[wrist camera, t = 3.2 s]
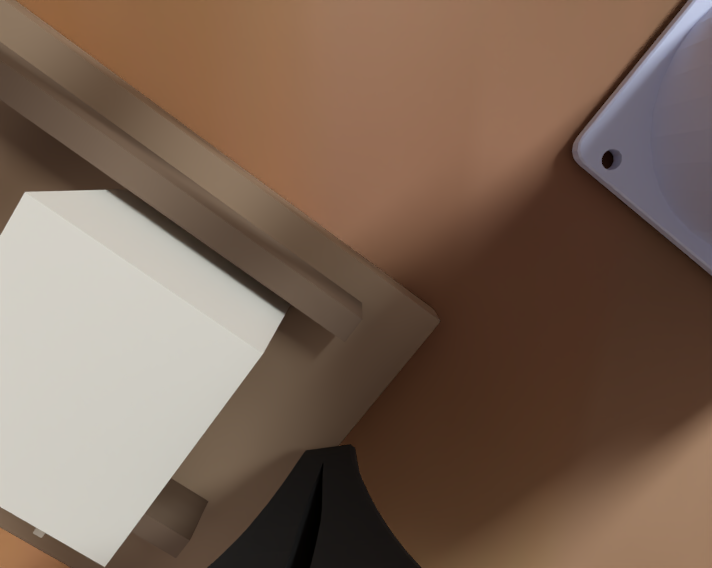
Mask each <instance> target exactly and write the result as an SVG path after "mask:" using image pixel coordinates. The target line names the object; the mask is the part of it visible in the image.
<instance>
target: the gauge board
mask: <svg viewBox="0 0 712 568" xmlns="http://www.w3.org/2000/svg"><path fill="white" fill-rule="evenodd" d="M118 189H127V190H128V191H130V192H131V193H133V194H134V195H135V196H137V197H138V198H140V199H141V200H143V201H144V202H145V203H147V204H148V205H150V206H151V207H153V208H154V209H155V210H157V211H158V212H160V213H161V214H162V215H164V216H165V217H167V218H168V219H170V220H171V221H172V222H174V223H175V224H177V225H178V226H180V227H181V228H182V229H184V230H185V231H187V232H188V233H189V234H191V235H192V236H194V237H195V238H197V239H198V240H199V241H201V242H202V243H204V244H205V245H207V246H208V247H209V248H211V249H212V250H214V251H215V252H216V253H218V254H219V255H221V256H222V257H224V258H225V259H226V260H228V261H229V262H231V263H232V264H234V265H235V266H236V267H238V268H239V269H241V270H242V271H243V272H245V273H246V274H248V275H249V276H251V277H252V278H253V279H255V280H256V281H258V282H259V283H261V284H262V285H263V286H265V287H266V288H268V289H269V290H270V291H272V292H273V293H275V294H276V295H278V296H279V297H280V298H282V299H283V300H285V301H286V302H288V303H289V304H290V307H289V308H288V310H287V312H286V314H285V316H284V317H283V319H282V321H281V323H280V324H279V326H278V328H277V330H276V332H275V333H274V335H273V337H272V339H271V340H270V342H269V344H268V346H267V348H266V349H265V351H264V353H263V355H262V356H261V357H260V359H259V360H258V361H257V363H256V364H255V365H254V367H253V368H252V369H251V371H250V372H249V373H248V375H247V376H246V377H245V379H244V380H243V381H242V383H241V384H240V386H239V387H238V388H237V390H236V391H235V392H234V394H233V395H232V396H231V398H230V399H229V400H228V402H227V403H226V404H225V406H224V407H223V408H222V410H221V411H220V412H219V414H218V415H217V417H216V418H215V419H214V421H213V422H212V423H211V425H210V426H209V427H208V429H207V430H206V431H205V433H204V434H203V435H202V437H201V438H200V439H199V441H198V442H197V443H196V445H195V446H194V448H193V449H192V450H191V452H190V453H189V454H188V456H187V457H186V458H185V460H184V461H183V462H182V464H181V465H180V466H179V468H178V469H177V470H176V472H175V473H174V474H173V476H172V477H171V479H170V480H169V481H168V483H167V484H166V485H165V487H164V488H163V489H162V491H161V492H160V493H159V495H158V496H157V497H156V499H155V500H154V501H153V503H152V504H151V505H150V507H149V508H148V510H147V511H146V512H145V514H144V515H143V516H142V518H141V519H140V520H139V522H138V523H137V524H136V526H135V527H134V528H133V530H132V531H131V532H130V534H129V535H128V536H127V538H126V539H125V541H124V542H123V543H122V545H121V546H120V547H119V549H118V550H117V551H116V553H115V554H114V555H113V557H112V558H111V559H110V561H109V562H108V563H107V565H106V566H105V567H104V566H102V565H100V564H99V563H97V562H95V561H93V560H92V559H90V558H88V557H86V556H85V555H83V554H81V553H79V552H78V551H76V550H74V549H72V548H71V547H69V546H67V545H66V544H64V543H62V542H60V541H59V540H57V539H55V538H53V537H52V536H50V535H48V534H46V533H45V532H43V531H41V530H40V529H38V528H36V527H34V526H33V525H31V524H29V523H27V522H26V521H24V520H22V519H20V518H19V517H17V516H15V515H14V514H12V513H10V512H8V511H7V510H5V509H3V508H1V507H0V527H1V528H2V529H4V530H6V531H8V532H9V533H11V534H13V535H15V536H16V537H18V538H20V539H22V540H23V541H25V542H27V543H29V544H30V545H32V546H34V547H36V548H37V549H39V550H41V551H43V552H44V553H46V554H48V555H50V556H51V557H53V558H55V559H57V560H58V561H60V562H62V563H64V564H66V565H67V566H69V567H71V568H207V567H208V566H209V565H210V564H212V563H213V562H214V561H215V560H216V559H217V558H218V557H219V556H221V555H222V554H223V553H224V552H225V551H226V550H227V549H228V548H229V547H230V546H231V545H232V544H233V543H234V542H235V541H236V540H237V539H238V538H239V537H240V535H241V534H242V533H243V532H244V531H245V530H246V529H247V528H248V527H249V526H250V524H251V523H252V522H253V521H254V520H255V518H256V517H257V516H258V515H259V514H260V512H261V511H262V510H263V509H264V507H265V506H266V505H267V504H268V502H269V501H270V500H271V498H272V497H273V496H274V494H275V493H276V492H277V490H278V489H279V488H280V486H281V485H282V483H283V482H284V481H285V479H286V478H287V476H288V475H289V473H290V472H291V471H292V469H293V468H294V466H295V465H296V463H297V462H298V460H299V459H300V457H301V456H302V455H303V453H304V452H305V451H306V450H312V449H320V448H327V447H335V446H339V444H340V443H341V442H342V441H343V440H344V438H345V437H346V436H347V435H348V433H349V432H350V431H351V430H352V429H353V427H354V426H355V425H356V424H357V423H358V421H359V420H360V419H361V418H362V416H363V415H364V414H365V413H366V412H367V410H368V409H369V408H370V407H371V405H372V404H373V403H374V402H375V401H376V399H377V398H378V397H379V396H380V395H381V393H382V392H383V391H384V390H385V388H386V387H387V386H388V385H389V384H390V382H391V381H392V380H393V379H394V378H395V376H396V375H397V374H398V373H399V371H400V370H401V369H402V368H403V367H404V365H405V364H406V363H407V362H408V360H409V359H410V358H411V357H412V356H413V354H414V353H415V352H416V351H417V350H418V348H419V347H420V346H421V345H422V343H423V342H424V341H425V340H426V339H427V337H428V336H429V335H430V334H431V332H432V331H433V330H434V329H435V328H436V326H437V325H438V324H439V323H440V322H441V321H440V319H439V318H438V316H437V314H436V313H435V311H434V309H433V308H431V307H430V306H429V305H427V304H426V303H425V302H423V301H422V300H420V299H419V298H418V297H416V296H415V295H414V294H412V293H411V292H410V291H408V290H407V289H406V288H404V287H403V286H402V285H400V284H399V283H397V282H396V281H395V280H393V279H392V278H391V277H389V276H388V275H387V274H385V273H384V272H383V271H381V270H380V269H378V268H377V267H376V266H374V265H373V264H372V263H370V262H369V261H368V260H366V259H365V258H364V257H362V256H361V255H360V254H358V253H357V252H355V251H354V250H353V249H351V248H350V247H349V246H347V245H346V244H345V243H343V242H342V241H341V240H339V239H338V238H336V237H335V236H334V235H332V234H331V233H330V232H328V231H327V230H326V229H324V228H323V227H322V226H320V225H319V224H318V223H316V222H315V221H313V220H312V219H311V218H309V217H308V216H307V215H305V214H304V213H303V212H301V211H300V210H299V209H297V208H296V207H294V206H293V205H292V204H290V203H289V202H288V201H286V200H285V199H284V198H282V197H281V196H280V195H278V194H277V193H276V192H274V191H273V190H271V189H270V188H269V187H267V186H266V185H265V184H263V183H262V182H261V181H259V180H258V179H257V178H255V177H254V176H252V175H251V174H250V173H248V172H247V171H246V170H244V169H243V168H242V167H240V166H239V165H238V164H236V163H235V162H234V161H232V160H231V159H229V158H228V157H227V156H225V155H224V154H223V153H221V152H220V151H219V150H217V149H216V148H215V147H213V146H212V145H210V144H209V143H208V142H206V141H205V140H204V139H202V138H201V137H200V136H198V135H197V134H196V133H194V132H193V131H192V130H190V129H189V128H187V127H186V126H185V125H183V124H182V123H181V122H179V121H178V120H177V119H175V118H174V117H173V116H171V115H170V114H168V113H167V112H166V111H164V110H163V109H162V108H160V107H159V106H158V105H156V104H155V103H154V102H152V101H151V100H150V99H148V98H147V97H145V96H144V95H143V94H141V93H140V92H139V91H137V90H136V89H135V88H133V87H132V86H131V85H129V84H128V83H127V82H125V81H124V80H122V79H121V78H120V77H118V76H117V75H116V74H114V73H113V72H112V71H110V70H109V69H108V68H106V67H105V66H103V65H102V64H101V63H99V62H98V61H97V60H95V59H94V58H93V57H91V56H90V55H89V54H87V53H86V52H85V51H83V50H82V49H80V48H79V47H78V46H76V45H75V44H74V43H72V42H71V41H70V40H68V39H67V38H66V37H64V36H63V35H61V34H60V33H59V32H57V31H56V30H55V29H53V28H52V27H51V26H49V25H48V24H47V23H45V22H44V21H43V20H41V19H40V18H38V17H37V16H36V15H34V14H33V13H32V12H30V11H29V10H28V9H26V8H25V7H24V6H22V5H21V4H19V3H18V2H17V1H15V0H0V235H1V233H2V231H3V230H4V228H5V226H6V224H7V223H8V221H9V219H10V217H11V216H12V214H13V212H14V210H15V209H16V207H17V205H18V203H19V202H20V200H21V198H22V196H23V194H24V193H25V192H40V191H79V190H118Z"/></svg>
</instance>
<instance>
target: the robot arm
mask: <svg viewBox="0 0 712 568" xmlns="http://www.w3.org/2000/svg"><path fill="white" fill-rule="evenodd" d="M606 151H610V152H611V153H612V155H613V161H614V162H613V164H612V165H611V167H610V168H608V169H606V168H604V166H603V165H602V157H603V155H604V153H605V152H606ZM572 153H573V158H574V160H575V161H576V162H577V163H578V165H580V166H581V167H582V168H583V169H584V170H586V171H587V172H588V173H589V174H590V175H592V176H593V177H594V178H595V179H596V180H598V181H599V182H600V183H601V184H602V185H604V186H605V187H606V188H607V189H608V190H610V191H611V192H612V193H613V194H614V195H616V196H617V197H618V198H619V199H620V200H622V201H623V202H624V203H625V204H626V205H628V206H629V207H630V208H631V209H632V210H634V211H635V212H636V213H637V214H638V215H640V216H641V217H642V218H643V219H644V220H646V221H647V222H648V223H649V224H650V225H652V226H653V227H654V228H655V229H656V230H658V231H659V232H660V233H661V234H662V235H664V236H665V237H666V238H667V239H668V240H670V241H671V242H672V243H673V244H674V245H676V246H677V247H678V248H679V249H680V250H682V251H683V252H684V253H685V254H686V255H688V256H689V257H690V258H691V259H692V260H694V261H695V262H696V263H697V264H698V265H700V266H701V267H702V268H703V269H704V270H706V271H707V272H708V273H709V274H710V275H712V0H688V1H687V3H686V4H685V5H684V6H683V7H682V9H681V10H680V11H679V12H678V14H677V15H676V16H675V17H674V18H673V20H672V21H671V22H670V23H669V25H668V26H667V27H666V28H665V30H664V31H663V32H662V33H661V34H660V36H659V37H658V38H657V39H656V41H655V42H654V43H653V44H652V45H651V47H650V48H649V49H648V50H647V52H646V53H645V54H644V55H643V57H642V58H641V59H640V60H639V61H638V63H637V64H636V65H635V66H634V68H633V69H632V70H631V71H630V72H629V74H628V75H627V76H626V77H625V79H624V80H623V81H622V82H621V84H620V85H619V86H618V87H617V88H616V90H615V91H614V92H613V93H612V95H611V96H610V97H609V98H608V99H607V101H606V102H605V103H604V104H603V106H602V107H601V108H600V109H599V111H598V112H597V113H596V114H595V115H594V117H593V118H592V119H591V120H590V122H589V123H588V124H587V125H586V126H585V128H584V129H583V130H582V131H581V133H580V134H579V135H578V136H577V138H576V140H575V141H574V143H573V148H572ZM207 568H421V567H420V566H419V565H418V563H417V562H416V561H415V560H414V559H413V558H412V557H411V556H410V555H409V554H408V552H407V551H406V550H405V549H404V548H403V546H402V545H401V544H400V542H399V541H398V540H397V539H396V537H395V536H394V534H393V533H392V532H391V530H390V529H389V527H388V526H387V524H386V523H385V521H384V520H383V518H382V517H381V515H380V513H379V512H378V510H377V508H376V506H375V505H374V503H373V501H372V499H371V497H370V495H369V493H368V491H367V489H366V487H365V485H364V482H363V480H362V478H361V475H360V473H359V468H358V462H357V456H356V450H355V447H353V446H352V445H351V444H350V445H342V446H335V447H327V448H320V449H312V450H306V451H305V452H304V453H303V455H302V456H301V457H300V459H299V460H298V462H297V463H296V465H295V466H294V468H293V469H292V471H291V472H290V473H289V475H288V476H287V478H286V479H285V481H284V482H283V483H282V485H281V486H280V488H279V489H278V490H277V492H276V493H275V494H274V496H273V497H272V498H271V500H270V501H269V502H268V504H267V505H266V506H265V507H264V509H263V510H262V511H261V512H260V514H259V515H258V516H257V517H256V518H255V520H254V521H253V522H252V523H251V524H250V526H249V527H248V528H247V529H246V530H245V531H244V532H243V533H242V534H241V535H240V537H239V538H238V539H237V540H236V541H235V542H234V543H233V544H232V545H231V546H230V547H229V548H228V549H227V550H226V551H225V552H224V553H223V554H222V555H221V556H219V557H218V558H217V559H216V560H215V561H214V562H213V563H212V564H210V565H209V566H208V567H207Z"/></svg>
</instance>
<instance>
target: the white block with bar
mask: <svg viewBox="0 0 712 568" xmlns="http://www.w3.org/2000/svg"><path fill="white" fill-rule="evenodd" d="M289 307H290V304H289V303H288V302H286V301H285V300H283V299H282V298H280V297H279V296H278V295H276V294H275V293H273V292H272V291H270V290H269V289H268V288H266V287H265V286H263V285H262V284H261V283H259V282H258V281H256V280H255V279H253V278H252V277H251V276H249V275H248V274H246V273H245V272H243V271H242V270H241V269H239V268H238V267H236V266H235V265H234V264H232V263H231V262H229V261H228V260H226V259H225V258H224V257H222V256H221V255H219V254H218V253H216V252H215V251H214V250H212V249H211V248H209V247H208V246H207V245H205V244H204V243H202V242H201V241H199V240H198V239H197V238H195V237H194V236H192V235H191V234H189V233H188V232H187V231H185V230H184V229H182V228H181V227H180V226H178V225H177V224H175V223H174V222H172V221H171V220H170V219H168V218H167V217H165V216H164V215H162V214H161V213H160V212H158V211H157V210H155V209H154V208H153V207H151V206H150V205H148V204H147V203H145V202H144V201H143V200H141V199H140V198H138V197H137V196H135V195H134V194H133V193H131V192H130V191H128V190H127V189H118V190H79V191H40V192H25V193H24V194H23V196H22V198H21V200H20V202H19V203H18V205H17V207H16V209H15V210H14V212H13V214H12V216H11V217H10V219H9V221H8V223H7V224H6V226H5V228H4V230H3V231H2V233H1V235H0V507H1V508H3V509H5V510H7V511H8V512H10V513H12V514H14V515H15V516H17V517H19V518H20V519H22V520H24V521H26V522H27V523H29V524H31V525H33V526H34V527H36V528H38V529H40V530H41V531H43V532H45V533H46V534H48V535H50V536H52V537H53V538H55V539H57V540H59V541H60V542H62V543H64V544H66V545H67V546H69V547H71V548H72V549H74V550H76V551H78V552H79V553H81V554H83V555H85V556H86V557H88V558H90V559H92V560H93V561H95V562H97V563H99V564H100V565H102V566H104V567H105V566H106V565H107V563H108V562H109V561H110V559H111V558H112V557H113V555H114V554H115V553H116V551H117V550H118V549H119V547H120V546H121V545H122V543H123V542H124V541H125V539H126V538H127V536H128V535H129V534H130V532H131V531H132V530H133V528H134V527H135V526H136V524H137V523H138V522H139V520H140V519H141V518H142V516H143V515H144V514H145V512H146V511H147V510H148V508H149V507H150V505H151V504H152V503H153V501H154V500H155V499H156V497H157V496H158V495H159V493H160V492H161V491H162V489H163V488H164V487H165V485H166V484H167V483H168V481H169V480H170V479H171V477H172V476H173V474H174V473H175V472H176V470H177V469H178V468H179V466H180V465H181V464H182V462H183V461H184V460H185V458H186V457H187V456H188V454H189V453H190V452H191V450H192V449H193V448H194V446H195V445H196V443H197V442H198V441H199V439H200V438H201V437H202V435H203V434H204V433H205V431H206V430H207V429H208V427H209V426H210V425H211V423H212V422H213V421H214V419H215V418H216V417H217V415H218V414H219V412H220V411H221V410H222V408H223V407H224V406H225V404H226V403H227V402H228V400H229V399H230V398H231V396H232V395H233V394H234V392H235V391H236V390H237V388H238V387H239V386H240V384H241V383H242V381H243V380H244V379H245V377H246V376H247V375H248V373H249V372H250V371H251V369H252V368H253V367H254V365H255V364H256V363H257V361H258V360H259V359H260V357H261V356H262V355H263V353H264V351H265V349H266V348H267V346H268V344H269V342H270V340H271V339H272V337H273V335H274V333H275V332H276V330H277V328H278V326H279V324H280V323H281V321H282V319H283V317H284V316H285V314H286V312H287V310H288V308H289Z"/></svg>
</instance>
